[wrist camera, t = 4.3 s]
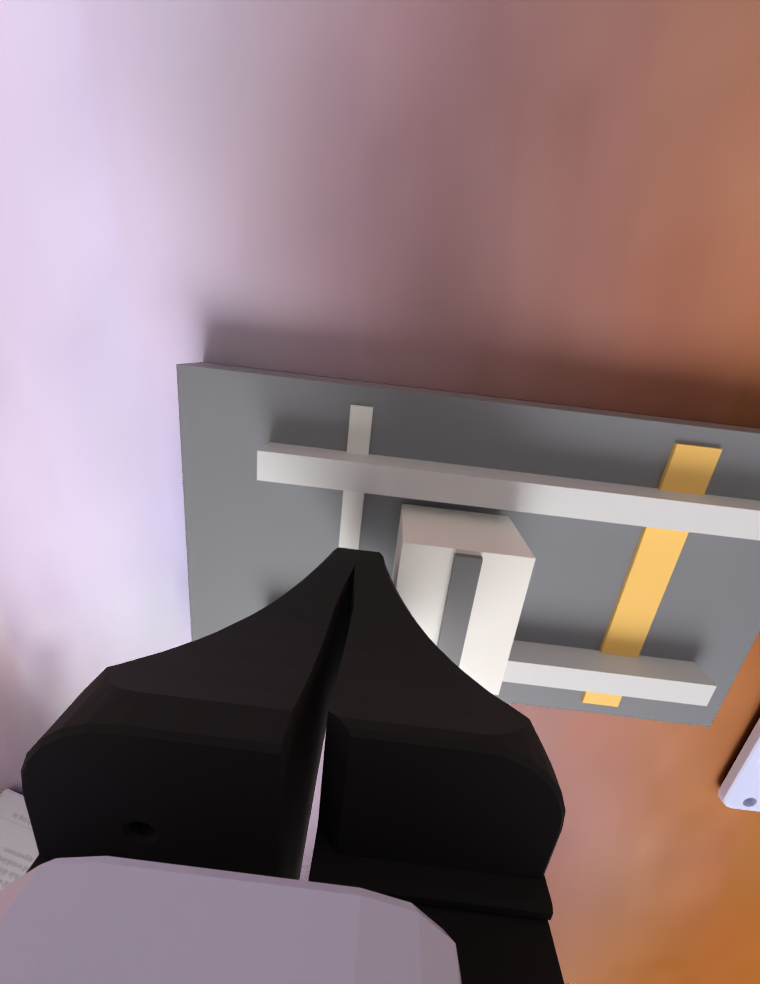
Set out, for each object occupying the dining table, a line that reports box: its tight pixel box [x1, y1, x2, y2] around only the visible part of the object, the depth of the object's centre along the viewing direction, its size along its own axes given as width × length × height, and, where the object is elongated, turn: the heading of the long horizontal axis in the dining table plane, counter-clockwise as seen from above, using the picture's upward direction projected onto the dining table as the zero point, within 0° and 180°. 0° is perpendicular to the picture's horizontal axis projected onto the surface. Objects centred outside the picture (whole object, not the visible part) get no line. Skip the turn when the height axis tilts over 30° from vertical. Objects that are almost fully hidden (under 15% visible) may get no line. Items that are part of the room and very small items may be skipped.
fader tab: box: [392, 504, 536, 695], centre depth 11 cm, size 3×4×3 cm
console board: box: [176, 362, 760, 727], centre depth 13 cm, size 18×10×2 cm, turn 84°
